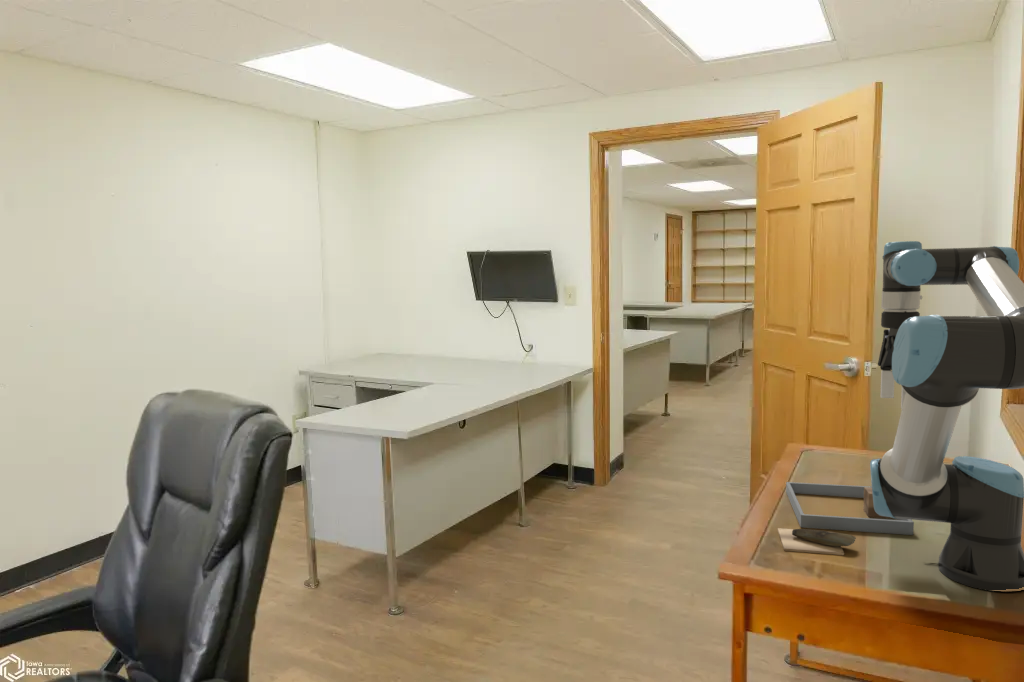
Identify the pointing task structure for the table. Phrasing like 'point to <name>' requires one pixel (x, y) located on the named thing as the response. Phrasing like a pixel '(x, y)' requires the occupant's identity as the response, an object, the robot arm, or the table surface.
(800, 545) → the cork pad
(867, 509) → the walnut block
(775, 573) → the table surface
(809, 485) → the parts tray
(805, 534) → the stone
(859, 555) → the table surface
